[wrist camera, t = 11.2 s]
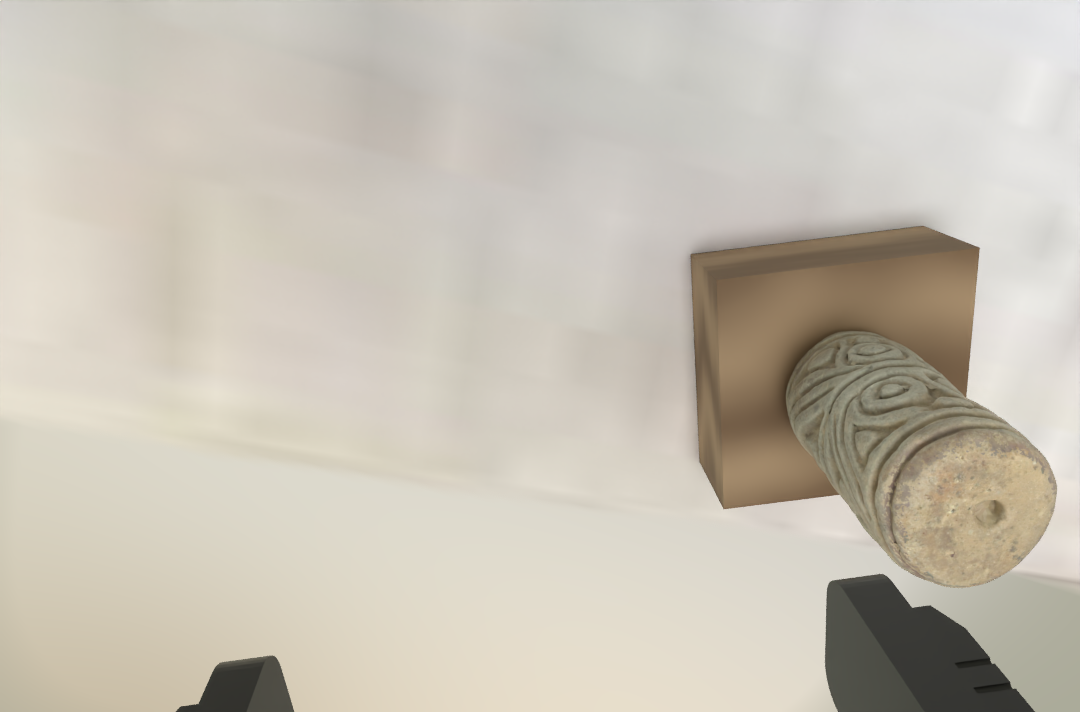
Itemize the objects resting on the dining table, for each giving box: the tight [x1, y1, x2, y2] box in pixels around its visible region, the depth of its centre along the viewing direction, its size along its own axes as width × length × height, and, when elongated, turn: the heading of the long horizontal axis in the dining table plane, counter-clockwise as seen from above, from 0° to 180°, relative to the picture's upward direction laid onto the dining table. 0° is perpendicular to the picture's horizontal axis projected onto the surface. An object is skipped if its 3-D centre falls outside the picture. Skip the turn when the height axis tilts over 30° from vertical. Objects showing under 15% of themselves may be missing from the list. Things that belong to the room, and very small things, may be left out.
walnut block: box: [691, 226, 980, 509], centre depth 40 cm, size 12×12×5 cm
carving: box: [786, 331, 1057, 588], centre depth 32 cm, size 6×8×12 cm
